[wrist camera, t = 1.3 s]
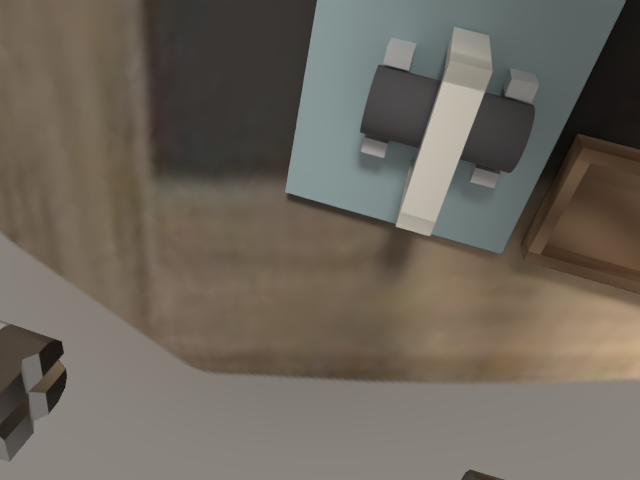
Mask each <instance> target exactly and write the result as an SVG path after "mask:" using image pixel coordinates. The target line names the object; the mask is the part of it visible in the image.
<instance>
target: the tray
mask: <svg viewBox="0 0 640 480" xmlns="http://www.w3.org/2000/svg"><path fill="white" fill-rule="evenodd" d="M521 246H522V253H523V260H524V261H527V262H531V263H534V264H538V265H541V266H545V267H548V268H552V269H555V270H559V271H562V272H566V273H569V274H572V275H576V276H579V277H583V278H586V279H590V280H593V281H597V282H600V283H604V284H607V285H611V286H614V287H618V288H621V289H625V290H628V291H632V292H635V293H639V294H640V150H638V149H635V148H631V147H627V146H623V145H619V144H616V143H612V142H608V141H604V140H601V139H597V138H593V137H589V136H585V135H582V134H578V133H577V135H576V137H575V139H574V141H573V143H572V145H571V147H570V149H569V151H568V153H567V155H566V157H565V159H564V161H563V163H562V165H561V167H560V168H559V170H558V172H557V174H556V176H555V178H554V180H553V182H552V184H551V186H550V188H549V190H548V192H547V194H546V196H545V198H544V200H543V202H542V204H541V206H540V208H539V209H538V211H537V213H536V215H535V217H534V219H533V221H532V223H531V225H530V227H529V229H528V231H527V233H526V235H525V237H524V239H523V241H522V243H521Z"/></svg>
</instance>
